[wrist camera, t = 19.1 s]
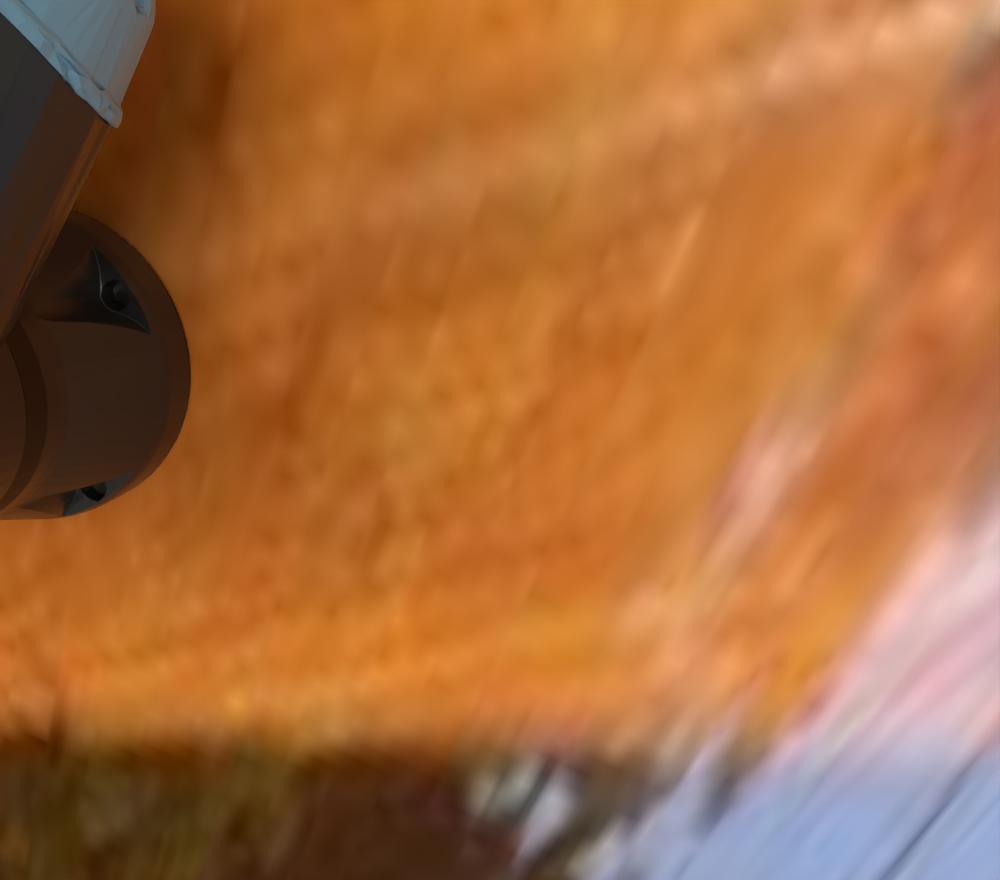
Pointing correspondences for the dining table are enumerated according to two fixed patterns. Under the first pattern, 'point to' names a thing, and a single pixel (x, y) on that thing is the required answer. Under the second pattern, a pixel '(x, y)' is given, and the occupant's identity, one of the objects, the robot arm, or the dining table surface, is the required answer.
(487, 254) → the dining table surface
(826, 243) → the dining table surface
